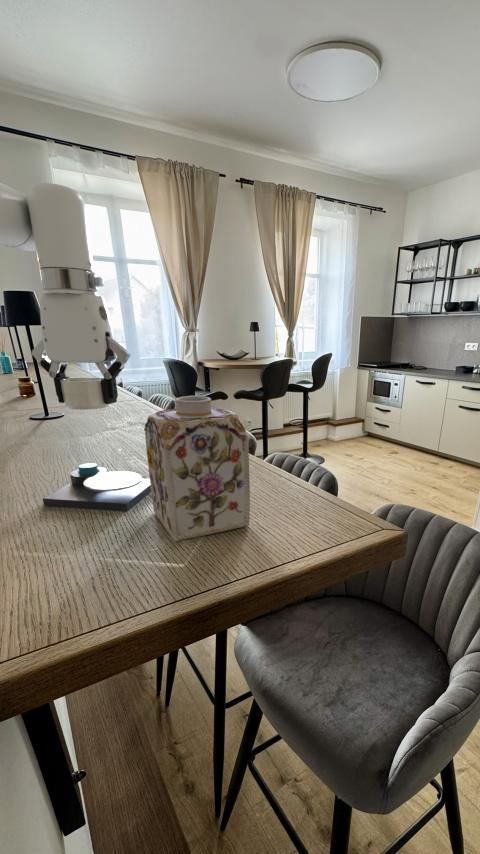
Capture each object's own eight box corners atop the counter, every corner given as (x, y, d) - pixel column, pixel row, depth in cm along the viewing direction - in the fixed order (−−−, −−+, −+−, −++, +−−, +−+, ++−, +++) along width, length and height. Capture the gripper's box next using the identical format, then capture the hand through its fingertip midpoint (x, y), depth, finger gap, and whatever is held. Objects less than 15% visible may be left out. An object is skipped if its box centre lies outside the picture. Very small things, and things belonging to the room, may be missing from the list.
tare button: (76, 475, 72) (74, 467, 71) (85, 470, 75) (84, 462, 74) (92, 476, 72) (91, 468, 71) (101, 471, 74) (100, 463, 74)
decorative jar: (222, 500, 69) (218, 390, 63) (252, 526, 60) (251, 401, 53) (150, 513, 64) (137, 394, 57) (171, 544, 54) (158, 407, 48)
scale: (41, 506, 66) (37, 488, 65) (85, 481, 77) (82, 466, 76) (127, 512, 64) (125, 494, 63) (158, 485, 76) (157, 470, 74)
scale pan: (72, 489, 64) (71, 487, 64) (102, 472, 73) (101, 470, 73) (126, 493, 63) (126, 490, 63) (150, 475, 72) (150, 473, 72)
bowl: (56, 409, 67) (50, 380, 65) (80, 403, 74) (76, 376, 72) (98, 410, 66) (94, 381, 65) (119, 404, 73) (115, 377, 71)
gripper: (134, 288, 66) (146, 400, 72) (33, 287, 67) (53, 398, 74) (112, 282, 59) (127, 407, 65) (-1, 282, 60) (25, 404, 67)
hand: (88, 401), depth 70 cm, fingers closed on bowl, 7 cm apart
